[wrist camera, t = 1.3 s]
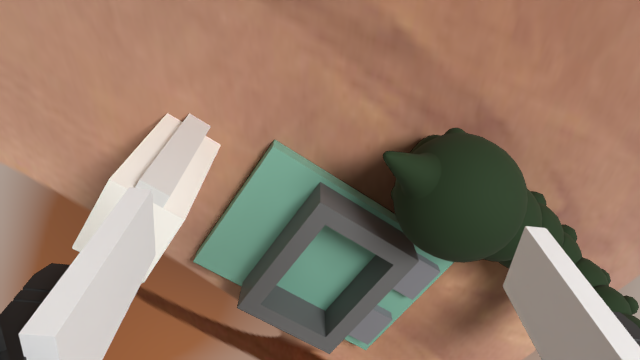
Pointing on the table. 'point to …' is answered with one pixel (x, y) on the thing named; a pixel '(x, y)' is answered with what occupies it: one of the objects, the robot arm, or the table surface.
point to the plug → (160, 178)
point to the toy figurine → (479, 207)
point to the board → (316, 254)
